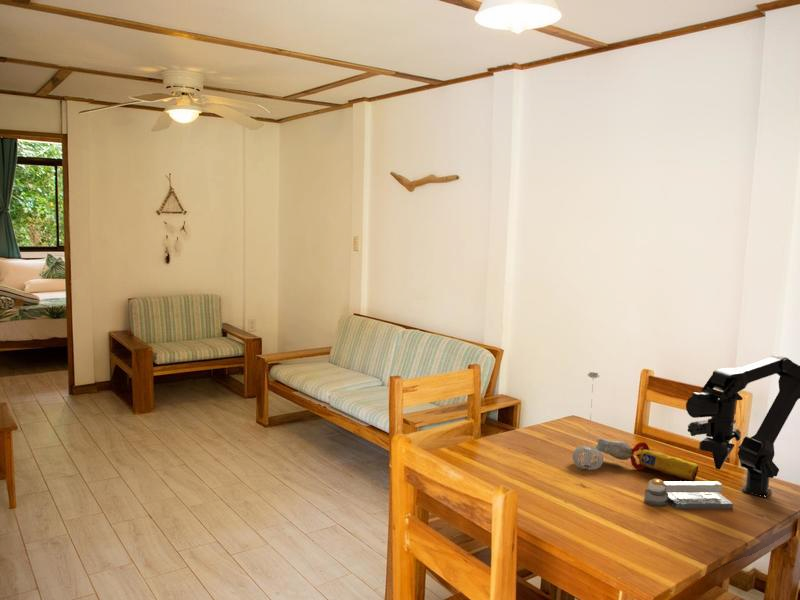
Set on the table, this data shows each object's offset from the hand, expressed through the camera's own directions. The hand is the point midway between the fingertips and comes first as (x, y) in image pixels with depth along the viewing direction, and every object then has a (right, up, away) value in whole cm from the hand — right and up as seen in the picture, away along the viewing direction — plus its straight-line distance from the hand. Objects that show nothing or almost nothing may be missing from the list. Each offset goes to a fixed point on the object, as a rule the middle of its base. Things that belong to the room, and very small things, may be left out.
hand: (718, 468), depth 184 cm
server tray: (-8, -8, -3) cm, 12 cm away
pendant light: (-31, -5, +20) cm, 37 cm away
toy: (-13, -6, +20) cm, 25 cm away
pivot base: (-19, -8, -4) cm, 21 cm away
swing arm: (-11, -5, -4) cm, 13 cm away
